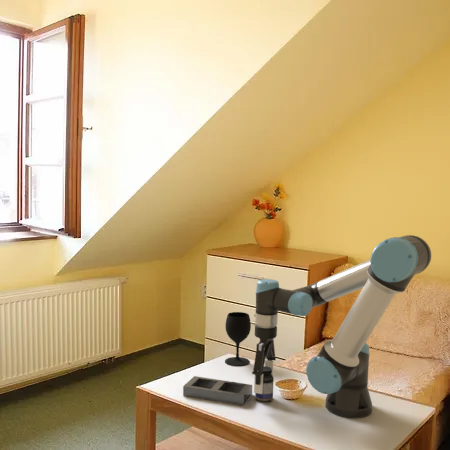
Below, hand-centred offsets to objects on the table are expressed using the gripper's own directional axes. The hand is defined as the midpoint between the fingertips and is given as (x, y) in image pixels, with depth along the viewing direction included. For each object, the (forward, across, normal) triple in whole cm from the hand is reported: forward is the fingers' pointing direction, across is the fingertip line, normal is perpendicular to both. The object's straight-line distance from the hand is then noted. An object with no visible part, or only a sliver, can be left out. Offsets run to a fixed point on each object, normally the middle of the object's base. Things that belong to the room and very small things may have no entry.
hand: (263, 385), depth 180 cm
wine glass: (+6, -32, -20) cm, 38 cm away
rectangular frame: (+5, +3, -16) cm, 17 cm away
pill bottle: (+5, 0, 0) cm, 5 cm away
